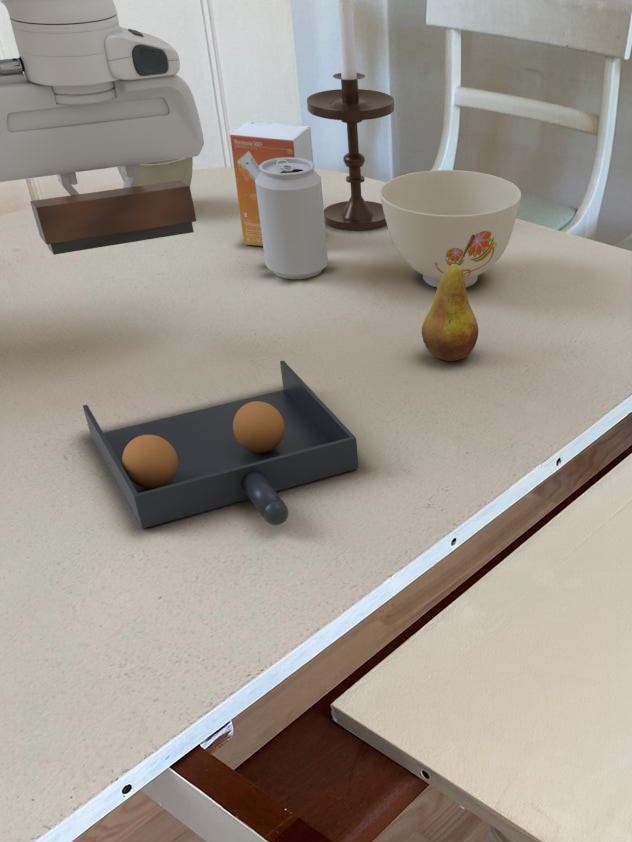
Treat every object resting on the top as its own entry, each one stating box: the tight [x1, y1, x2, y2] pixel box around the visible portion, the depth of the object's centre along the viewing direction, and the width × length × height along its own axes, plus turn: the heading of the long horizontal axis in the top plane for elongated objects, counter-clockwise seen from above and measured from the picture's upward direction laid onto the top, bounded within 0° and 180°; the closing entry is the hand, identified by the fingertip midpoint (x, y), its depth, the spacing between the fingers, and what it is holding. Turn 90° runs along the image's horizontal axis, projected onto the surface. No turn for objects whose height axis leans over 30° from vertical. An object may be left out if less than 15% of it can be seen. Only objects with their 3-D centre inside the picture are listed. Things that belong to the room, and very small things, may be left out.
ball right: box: [233, 401, 285, 453], centre depth 85 cm, size 4×4×4 cm
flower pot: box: [116, 157, 194, 187], centre depth 130 cm, size 10×10×7 cm
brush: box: [30, 180, 197, 256], centre depth 94 cm, size 14×8×4 cm, turn 120°
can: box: [255, 157, 329, 280], centre depth 113 cm, size 8×8×12 cm
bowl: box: [379, 169, 522, 289], centre depth 113 cm, size 16×16×10 cm
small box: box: [229, 121, 314, 247], centre depth 120 cm, size 8×6×13 cm
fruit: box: [421, 235, 479, 362], centre depth 97 cm, size 6×6×12 cm
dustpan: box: [82, 360, 359, 529], centre depth 83 cm, size 22×19×3 cm
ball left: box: [122, 435, 178, 489], centre depth 80 cm, size 4×4×4 cm
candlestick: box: [306, 0, 395, 232], centre depth 119 cm, size 11×11×35 cm
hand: (109, 215), depth 95 cm, fingers closed on brush, 2 cm apart
